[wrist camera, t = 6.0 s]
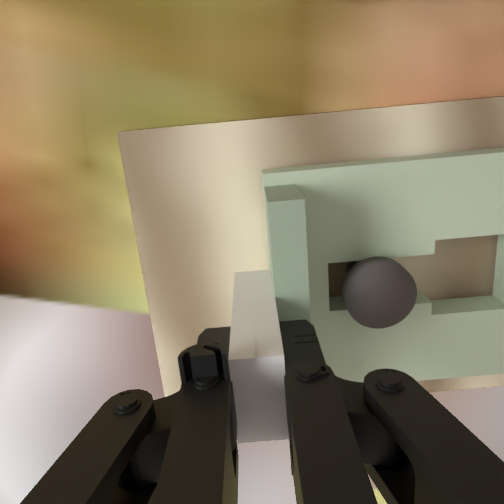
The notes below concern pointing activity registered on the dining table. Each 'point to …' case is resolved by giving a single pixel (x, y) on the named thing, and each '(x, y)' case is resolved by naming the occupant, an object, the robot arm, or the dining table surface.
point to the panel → (388, 256)
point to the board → (254, 225)
